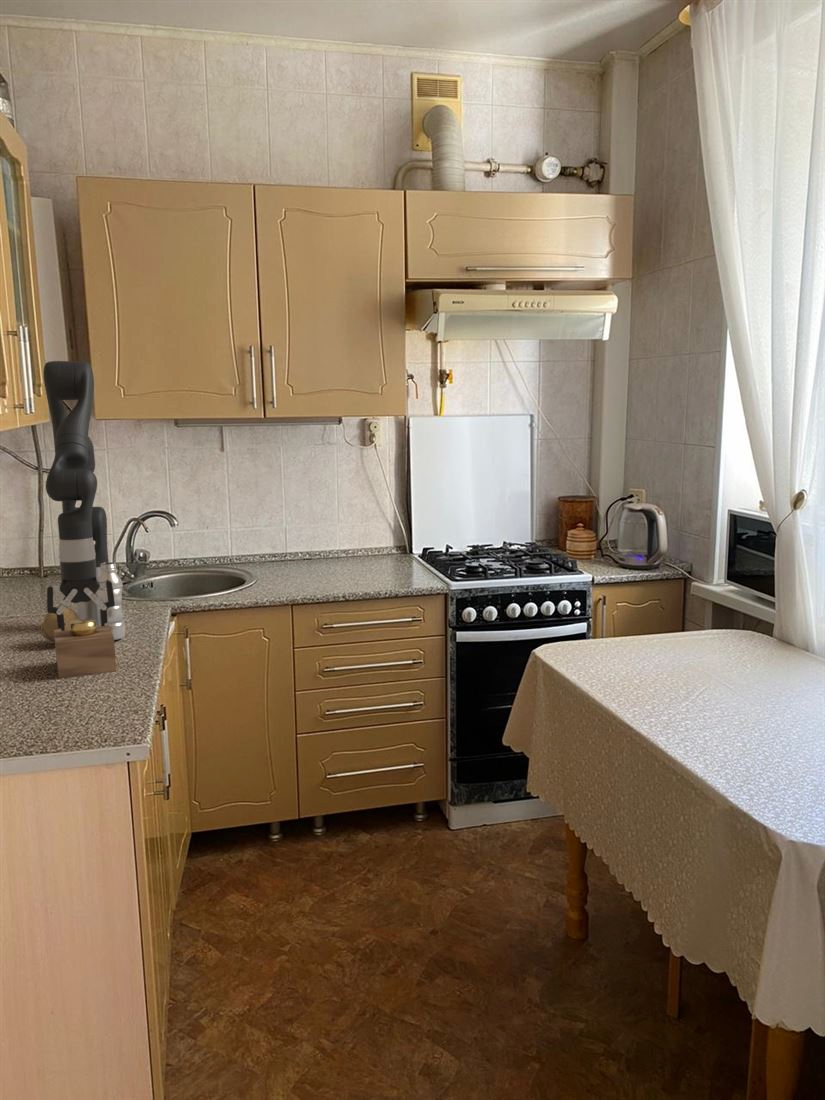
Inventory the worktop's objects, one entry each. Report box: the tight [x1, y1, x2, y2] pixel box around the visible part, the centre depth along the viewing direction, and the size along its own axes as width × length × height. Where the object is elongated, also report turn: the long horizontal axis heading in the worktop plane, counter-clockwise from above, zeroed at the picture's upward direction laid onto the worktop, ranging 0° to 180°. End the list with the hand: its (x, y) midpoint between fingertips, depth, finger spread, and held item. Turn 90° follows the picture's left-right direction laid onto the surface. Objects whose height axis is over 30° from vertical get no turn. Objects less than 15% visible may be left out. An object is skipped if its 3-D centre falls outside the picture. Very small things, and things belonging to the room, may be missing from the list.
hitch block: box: [54, 624, 117, 679], centre depth 191 cm, size 13×12×8 cm
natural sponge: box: [40, 606, 79, 644], centre depth 211 cm, size 9×9×10 cm
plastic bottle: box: [97, 562, 126, 641], centre depth 215 cm, size 6×7×20 cm
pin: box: [70, 619, 97, 636], centre depth 191 cm, size 6×6×10 cm
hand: (82, 627), depth 191 cm, fingers open, 8 cm apart
